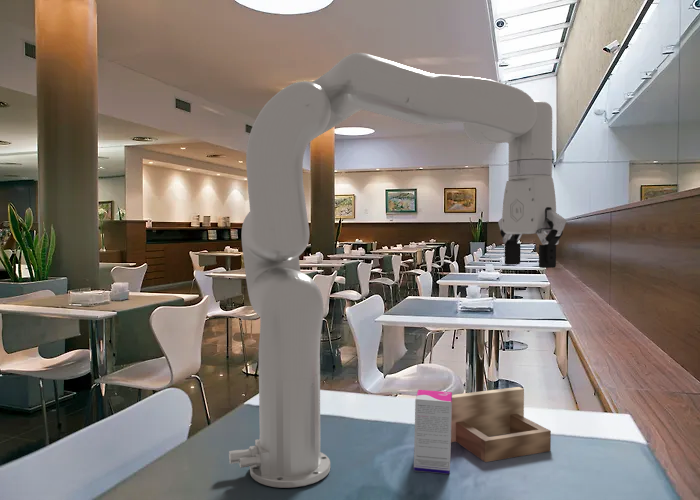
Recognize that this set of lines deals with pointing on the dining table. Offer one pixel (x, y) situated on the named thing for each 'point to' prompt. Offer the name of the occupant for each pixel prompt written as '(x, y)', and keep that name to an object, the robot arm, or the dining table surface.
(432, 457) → the supplement box
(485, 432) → the wooden tray holder
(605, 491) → the dining table surface
